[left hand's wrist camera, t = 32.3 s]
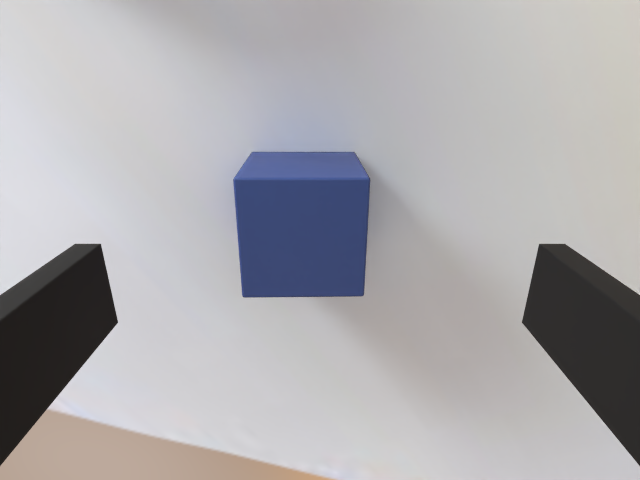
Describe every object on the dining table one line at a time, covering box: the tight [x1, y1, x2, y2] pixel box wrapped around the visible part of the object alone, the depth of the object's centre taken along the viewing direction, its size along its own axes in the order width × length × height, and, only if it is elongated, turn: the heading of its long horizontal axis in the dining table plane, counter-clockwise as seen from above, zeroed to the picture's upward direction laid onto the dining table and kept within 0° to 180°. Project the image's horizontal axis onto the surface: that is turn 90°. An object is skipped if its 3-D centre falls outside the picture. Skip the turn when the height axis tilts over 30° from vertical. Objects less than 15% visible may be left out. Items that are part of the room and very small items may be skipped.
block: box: [234, 152, 370, 297], centre depth 17 cm, size 5×5×5 cm
